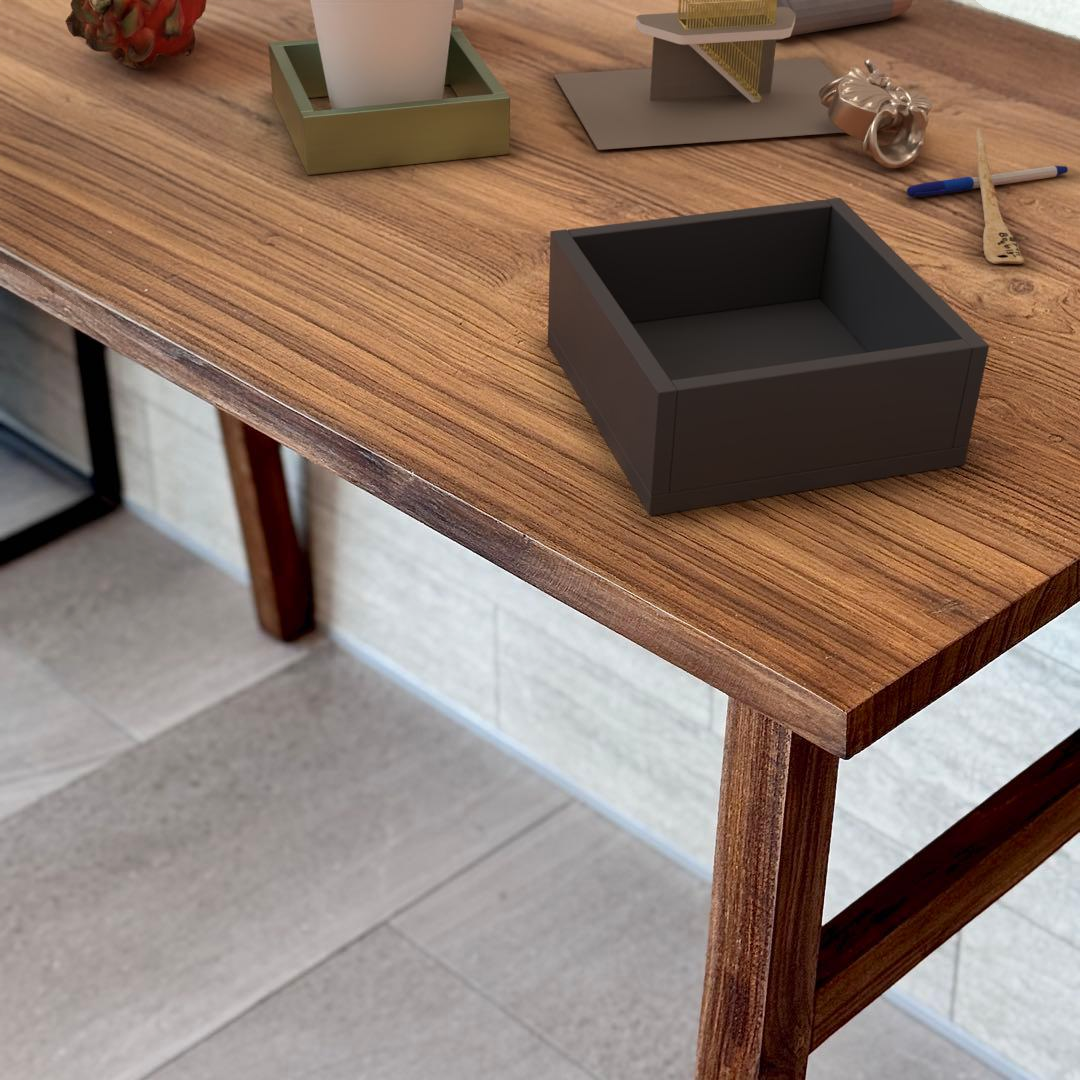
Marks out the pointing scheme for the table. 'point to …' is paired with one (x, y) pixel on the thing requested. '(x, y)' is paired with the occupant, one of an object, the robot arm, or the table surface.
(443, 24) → the foam cup
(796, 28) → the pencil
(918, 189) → the ballpoint pen
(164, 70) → the table surface
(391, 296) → the table surface
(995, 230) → the tool
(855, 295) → the dark grey square tray
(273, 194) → the table surface
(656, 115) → the platform
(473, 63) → the olive square frame
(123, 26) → the dragon fruit
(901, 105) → the ornament
